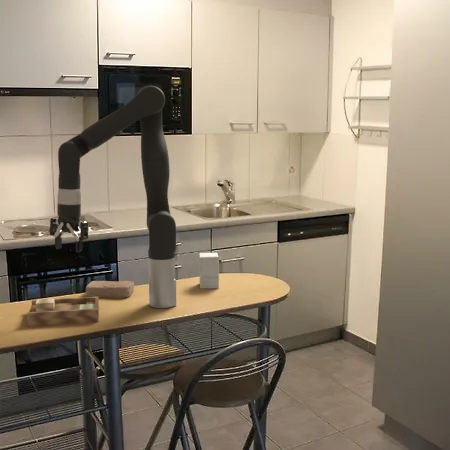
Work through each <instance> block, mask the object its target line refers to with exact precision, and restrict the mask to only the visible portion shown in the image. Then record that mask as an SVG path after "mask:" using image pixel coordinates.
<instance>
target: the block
mask: <svg viewBox="0 0 450 450" xmlns="http://www.w3.org/2000/svg"><path fill="white" fill-rule="evenodd" d="M54 299H55V298H42V299H41V298H40V299H39V298H38V299H37V298H36V300H37V301H36V312H42V311H54V308H55V301H54Z"/></svg>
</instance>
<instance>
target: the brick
mask: <svg viewBox="0 0 450 450" xmlns="http://www.w3.org/2000/svg"><path fill="white" fill-rule="evenodd" d="M134 290H135V282H134V281H131V280H119V281H118V280H117V281H114V280H113V281H111V280H110V281H109V280H93V281H90V282H89V283H88V284H87V285H86V287H85V297H98V298H114V299H116V298H119V299H121V298H128V297H130V296H132V295H133V294H134Z"/></svg>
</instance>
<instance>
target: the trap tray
mask: <svg viewBox="0 0 450 450" xmlns="http://www.w3.org/2000/svg"><path fill="white" fill-rule="evenodd" d="M53 299H54V301H55V308H54V311H42V312H36V301H37V299H32V300H31V305H30V309H29V310H28V312H26V321H27V327H34V326H35V327H36V326H53V325H66V324H86V323H97V322H98V323H99V319H100V318H99V317H100V313H99V312H100V311H99V310H100V304H99V303H100V300H99V297H86V296H82V297H66V298H53Z"/></svg>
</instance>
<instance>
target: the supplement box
mask: <svg viewBox="0 0 450 450" xmlns="http://www.w3.org/2000/svg"><path fill="white" fill-rule="evenodd" d="M198 259H199V286H200V287H199V288H200V289H202V290H203V289H219V286H220V277H219V276H220V275H219V274H220V273H219V272H220V270H219V268H220V267H219V266H220V265H219V264H220V263H219V261H220V260H219V259H220V257H219V255H218V252H199V257H198Z"/></svg>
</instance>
